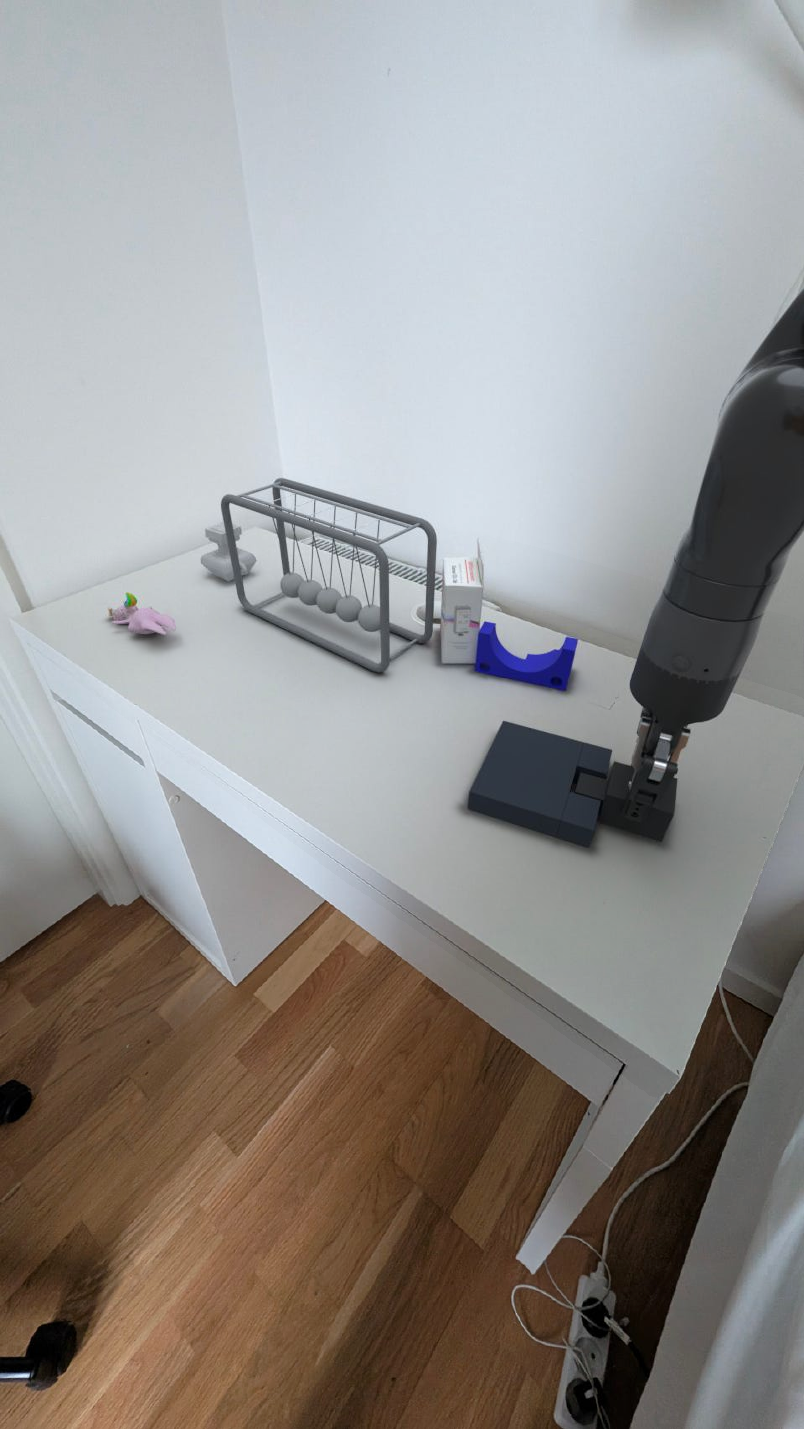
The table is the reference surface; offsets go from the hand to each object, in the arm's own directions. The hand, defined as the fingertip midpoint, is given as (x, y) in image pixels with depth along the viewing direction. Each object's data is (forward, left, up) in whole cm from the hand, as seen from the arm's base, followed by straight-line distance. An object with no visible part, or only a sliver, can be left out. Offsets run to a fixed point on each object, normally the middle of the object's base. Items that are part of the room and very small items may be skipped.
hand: (635, 796), depth 56 cm
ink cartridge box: (+26, -22, -2) cm, 34 cm away
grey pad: (+9, 0, -2) cm, 9 cm away
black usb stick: (+1, 0, -2) cm, 3 cm away
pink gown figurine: (+69, -7, -2) cm, 69 cm away
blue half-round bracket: (+16, -20, -2) cm, 26 cm away
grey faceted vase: (+69, -28, -2) cm, 74 cm away
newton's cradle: (+45, -20, -2) cm, 49 cm away
